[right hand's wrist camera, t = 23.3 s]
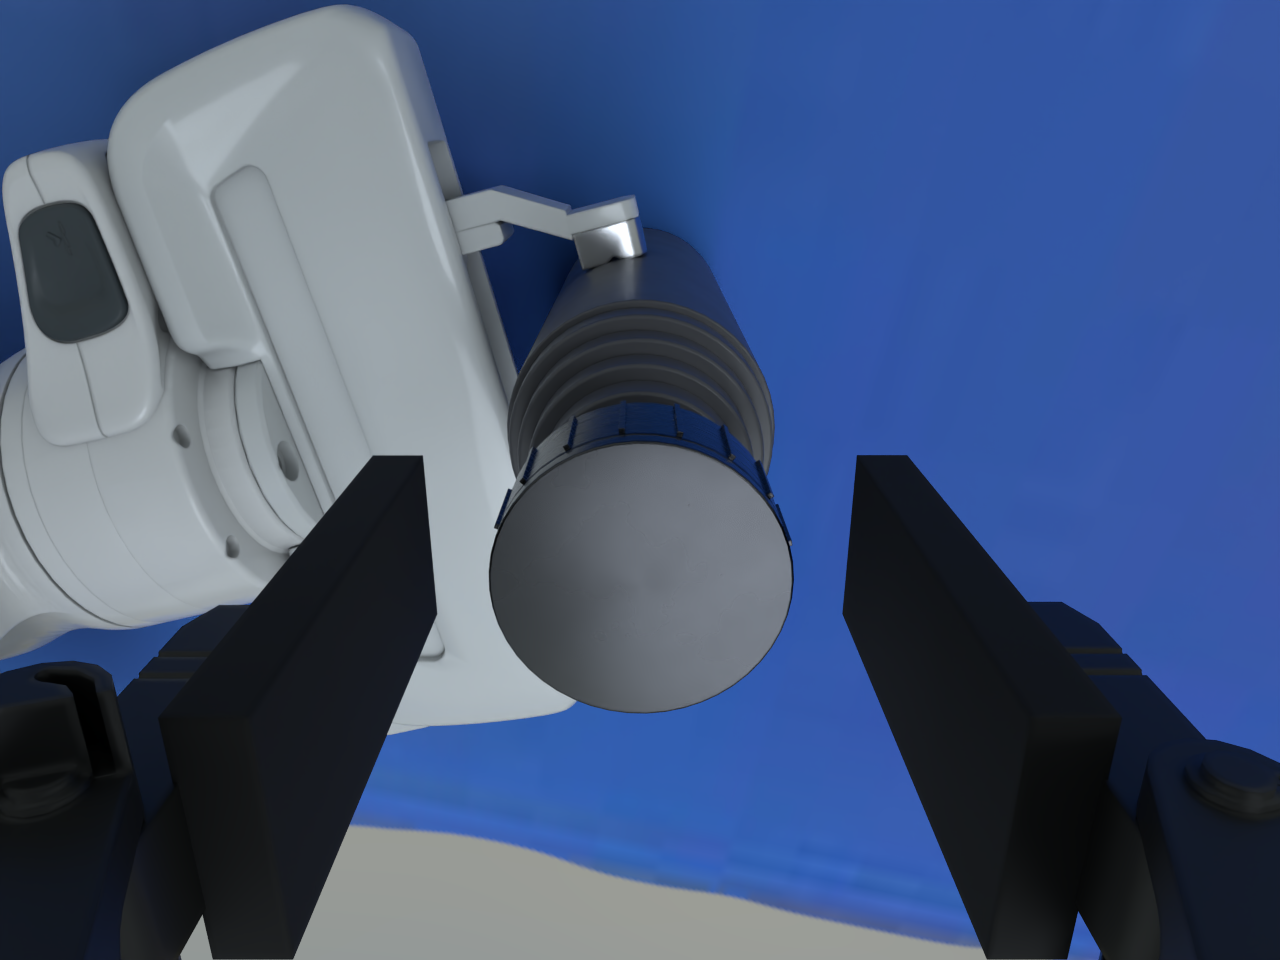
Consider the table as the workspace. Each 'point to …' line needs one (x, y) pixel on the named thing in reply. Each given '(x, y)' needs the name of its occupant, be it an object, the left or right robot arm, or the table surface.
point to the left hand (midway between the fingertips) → (671, 345)
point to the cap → (641, 560)
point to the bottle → (641, 350)
